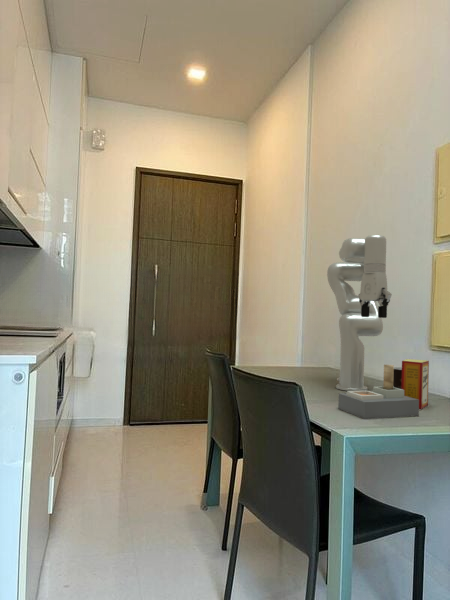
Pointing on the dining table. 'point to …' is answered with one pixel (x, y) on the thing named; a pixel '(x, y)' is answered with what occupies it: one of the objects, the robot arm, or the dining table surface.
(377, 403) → the grey compartment tray
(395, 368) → the coffee mug
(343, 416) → the dining table surface
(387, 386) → the wooden block
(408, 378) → the baking soda box
